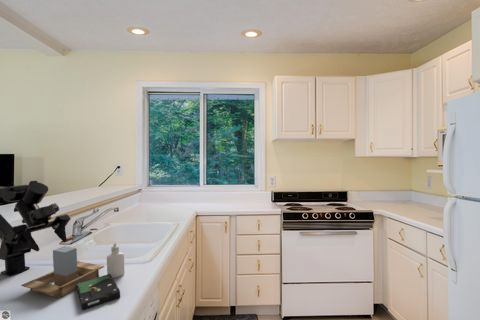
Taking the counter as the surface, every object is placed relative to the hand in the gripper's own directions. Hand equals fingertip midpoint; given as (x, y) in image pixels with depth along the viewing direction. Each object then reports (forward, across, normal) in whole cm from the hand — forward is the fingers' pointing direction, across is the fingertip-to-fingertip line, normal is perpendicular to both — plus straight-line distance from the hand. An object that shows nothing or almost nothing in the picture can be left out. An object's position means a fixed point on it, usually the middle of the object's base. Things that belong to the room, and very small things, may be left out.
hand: (52, 245), depth 91 cm
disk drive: (+25, -1, -6) cm, 26 cm away
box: (+13, 0, +4) cm, 14 cm away
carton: (+13, 0, +4) cm, 14 cm away
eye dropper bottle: (+22, +10, -4) cm, 24 cm away
